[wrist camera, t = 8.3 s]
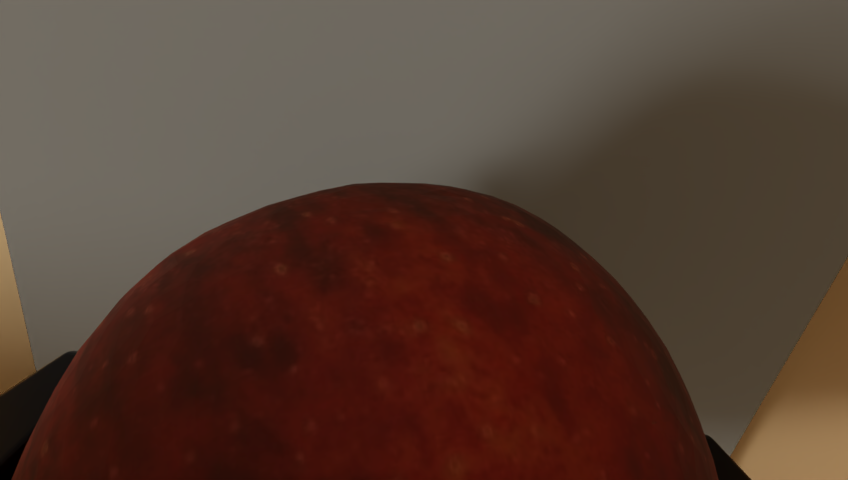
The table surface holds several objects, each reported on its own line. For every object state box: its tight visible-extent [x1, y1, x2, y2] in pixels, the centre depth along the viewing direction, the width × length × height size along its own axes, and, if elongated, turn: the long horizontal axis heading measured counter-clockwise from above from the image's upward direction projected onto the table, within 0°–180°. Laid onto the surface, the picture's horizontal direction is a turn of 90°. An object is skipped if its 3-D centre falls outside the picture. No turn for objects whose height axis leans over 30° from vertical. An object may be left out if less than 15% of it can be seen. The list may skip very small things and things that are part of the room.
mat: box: [0, 0, 848, 456], centre depth 12 cm, size 14×14×1 cm
